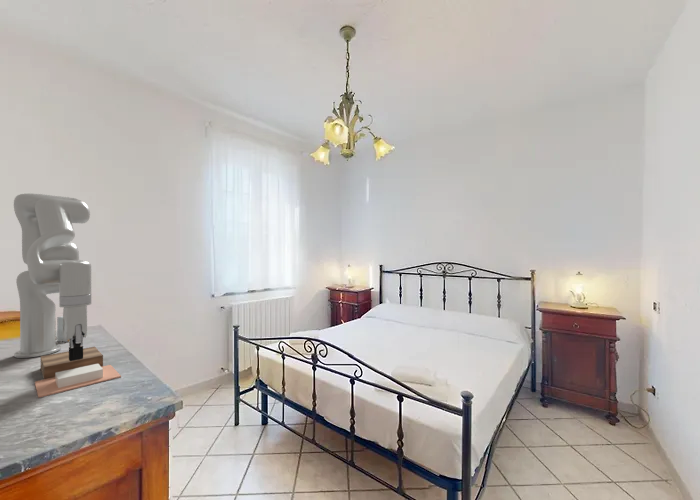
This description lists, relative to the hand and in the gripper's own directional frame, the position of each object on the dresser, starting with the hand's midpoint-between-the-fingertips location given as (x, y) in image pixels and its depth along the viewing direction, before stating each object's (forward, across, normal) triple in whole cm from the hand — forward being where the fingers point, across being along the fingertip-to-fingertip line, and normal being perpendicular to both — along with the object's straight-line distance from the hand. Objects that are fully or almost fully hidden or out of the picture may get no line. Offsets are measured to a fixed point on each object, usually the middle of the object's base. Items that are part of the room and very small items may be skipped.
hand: (76, 359), depth 97 cm
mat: (+5, +5, 0) cm, 7 cm away
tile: (+3, +6, 0) cm, 7 cm away
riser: (+5, -9, 0) cm, 10 cm away
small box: (+5, -53, +5) cm, 54 cm away
